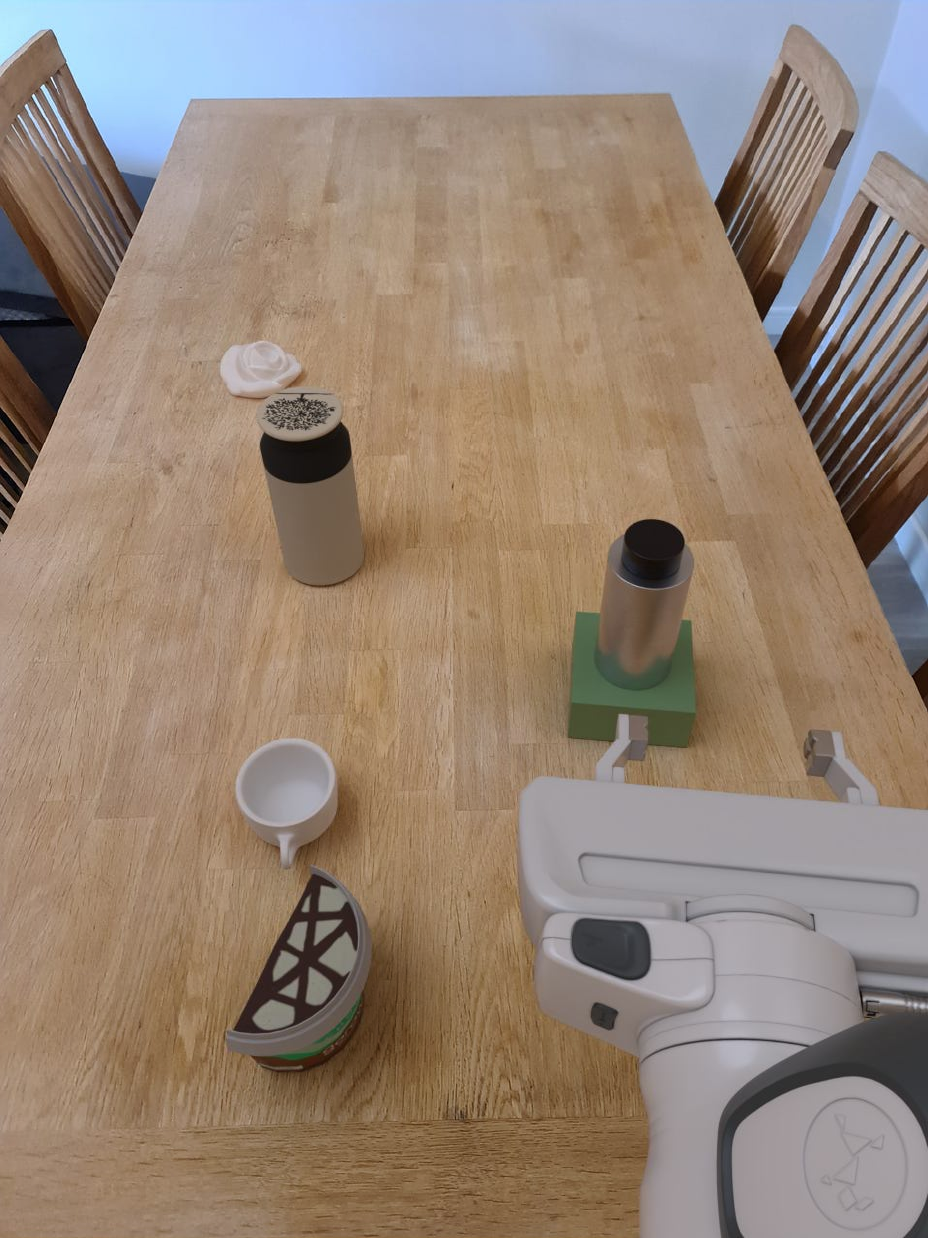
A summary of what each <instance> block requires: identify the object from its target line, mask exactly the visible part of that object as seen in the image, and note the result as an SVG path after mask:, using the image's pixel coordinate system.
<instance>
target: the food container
mask: <svg viewBox="0 0 928 1238" xmlns="http://www.w3.org/2000/svg"><path fill="white" fill-rule="evenodd" d="M309 868H310V874H311V875H310V878H309V880H308V881H307V883H306V885H305V888H304V890H303V893H302V894H301V896H300V898H299V900H298V902H297V904H296V906H295V907H294V910H293V911H292V914H291V916H290V917H289V919H288V921H287V923H286V925H285V926H284V928H283V929H282V931H281V933H280V934H279V937H278V938H277V940H276V942H275V944H274V945H273V947H272V949H271V952H270V953H269V956H268V958H267V960H266V962H265V965H264V967H263V969H262V972H261V973H260V975H259V977H258V980H257V982H256V984H255V986H254V988H253V989H252V992H251V994H250V995H249V998H248V1000H247V1001H246V1004H245V1006H244V1008H243V1010H242V1012H241V1014H240V1016H239V1018H238V1019H237V1021H236V1024H235V1025H234V1027H233V1029H230V1028H225V1030H224V1031H225V1032H226V1035H225V1036H224V1038H225V1044H226V1050H227V1051H229V1052H231V1053H232V1052H233V1053H236V1054H239V1055H244V1056H245V1055H246V1056H249V1057H250V1058H252V1060H254V1062H256V1064H258V1065H259V1067H261V1068H263V1069H265V1070H269V1071H273V1072H275V1073H303V1072H305V1071H308V1070H311V1069H314V1068H317V1067H320V1066H322V1065H325V1064H326V1063H327V1062H328V1061H330V1060H331V1059H332V1058H334V1057H335V1056H337V1055H338V1054H340V1053H341V1052H342V1051H343V1050H344V1049H345V1048H346V1046H347V1045H348V1044H349V1043H350V1041H351V1040H352V1038H354V1035H355V1034H356V1032H357V1030H358V1028H359V1026H360V1023H361V1020H362V1017H363V1012H364V1008H365V1007H364V1006H365V985H366V984H367V983H366V982H367V980H368V978H369V977H368V976H369V974H370V969H371V963H372V956H373V955H372V952H373V949H372V948H373V947H372V946H373V943H372V936H371V935H372V934H371V929H370V926H369V923H368V919H367V917H366V914H365V912H364V911H363V909H362V907H361V905H360V903H359V902H358V900H357V899H356V898H355V897H354V895H353V894H352V893H351V892H350V890H349V889H348V888H347V887H346V886H345V884H343V883H342V881H340V880H339V879H338V878H337V877H336V876H334V875H333V874H331V873H330V872H328V871H327V870H324V869H323V868H320V867H318V866H316V865H313V864H309Z"/></svg>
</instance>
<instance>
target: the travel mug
mask: <svg viewBox="0 0 928 1238" xmlns="http://www.w3.org/2000/svg"><path fill="white" fill-rule="evenodd" d="M344 413H345V410H344V404H343V402H342V400H341V399H340V398H339V397H338V396H337V395H336V394H335V393H333V392H332V391H330V390H328V389H326V388H322V387H318V386H312V385H300V386H292V387H286V388H285V389H284V390H281V391H278V392H276V393H274V394H272V395H271V396H269V397H265V399H264V400H263V401H262V402H261V403H260V404H259V406H258V408H257V411H256V423H257V425H258V427H259V428H260V430H261V431H262V435H261V438H260V441H259V451H260V456H261V460H262V464H263V469H264V474H265V478H266V484H267V488H268V492H269V498H270V502H271V507H272V511H273V516H274V522H275V525H276V530H277V535H278V539H279V544H280V549H281V554H282V558H283V563H284V567H285V569H286V571H287V573H289V575H290V576H292V578H294V579H295V580H297V581H298V582H301V583H303V584H307V585H312V586H330V585H335V584H337V583H340V582H343V581H345V580H347V579H349V578H351V577H352V576H353V575H354V574H356V573H357V571H358V570H359V569H360V568H361V566H362V565H363V563H364V560H365V547H364V538H363V531H362V523H361V515H360V507H359V506H360V505H359V498H358V492H357V491H358V490H357V483H356V476H355V475H356V473H355V467H354V460H353V451H352V443H351V435H350V432H349V430H348V428H347V426H346V425H345V424H344V423H343V422H342V419H343V418H344Z"/></svg>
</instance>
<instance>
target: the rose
mask: <svg viewBox="0 0 928 1238" xmlns="http://www.w3.org/2000/svg"><path fill="white" fill-rule="evenodd" d="M302 371H303V365H302V363H300V362H299V361H298V360H297V357H296V356H295V355H294V354H292V353H285V351H284V350H283V348H282V347H281V346H280V345H278V344H275V343H273V342H272V341H269V340H258V341H255V342H251V343H246V344H242V345H241V344H233V345H232V346H230V347H229V349H227V351H226V352H225V353H224V354H223V356H222V357H221V360H220V364H219V374H220V377H221V380H222V381H223V382H224V384H225V386H226V389H227V391H228V392H229V393H230V395H231V396H235V397H242V398H250V399H264V398H265V399H266V398H268V397H269V396H271V395H272V394H274V393H276V392H278V391H281V390H284V389H287V388H288V386H289V385H291V384H292V383H294V382H295V381H296V380H297V379H298V378H299V376H300V375H301V373H302Z"/></svg>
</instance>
